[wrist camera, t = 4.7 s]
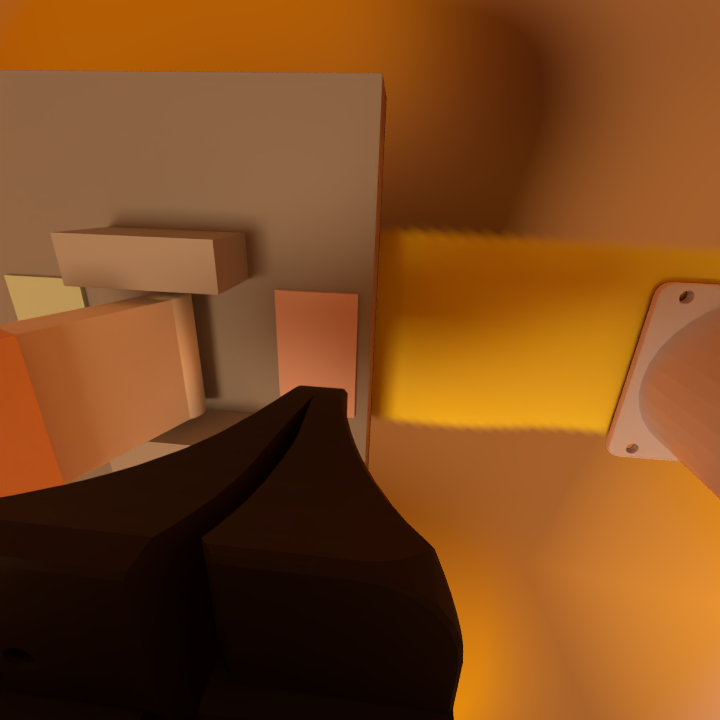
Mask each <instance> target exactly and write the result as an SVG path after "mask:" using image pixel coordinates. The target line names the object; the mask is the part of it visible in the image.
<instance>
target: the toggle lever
mask: <svg viewBox="0 0 720 720" xmlns="http://www.w3.org/2000/svg"><path fill="white" fill-rule="evenodd" d="M206 409H207V407H206V400H205V392H204V385H203V378H202V370H201V363H200V356H199V348H198V341H197V333H196V326H195V319H194V311H193V304H192V297H191V293H177V292H157V293H153V294H150V295H145V296H140V297H135V298H130V299H125V300H120V301H115V302H110V303H105V304H100V305H95V306H90V307H85V308H80V309H75V310H70V311H65V312H60V313H55V314H50V315H45V316H40V317H35V318H30V319H25V320H20V321H15V322H10V323H5V324H0V497H5V496H11V495H16V494H21V493H26V492H31V491H36V490H40V489H45V488H50V487H55V486H60V485H65V484H68V483H70V482H72V481H73V480H75V479H77V478H79V477H81V476H83V475H85V474H87V473H89V472H91V471H93V470H94V469H96V468H98V467H100V466H102V465H104V464H106V463H108V462H110V461H112V460H113V459H115V458H117V457H119V456H121V455H123V454H125V453H127V452H129V451H131V450H133V449H134V448H136V447H138V446H140V445H142V444H144V443H146V442H148V441H150V440H152V439H153V438H155V437H157V436H159V435H161V434H163V433H165V432H167V431H169V430H171V429H172V428H174V427H176V426H178V425H180V424H182V423H184V422H186V421H188V420H190V419H193V418H196V417H198V416H200V415H202V414H203V413H204V412H205V411H206Z"/></svg>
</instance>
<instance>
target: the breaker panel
mask: <svg viewBox="0 0 720 720" xmlns="http://www.w3.org/2000/svg"><path fill="white" fill-rule="evenodd" d="M385 116H386V92H385V86H384V80H383V74H382V73H289V72H286V73H284V72H283V73H282V72H280V73H279V72H176V71H63V70H62V71H61V70H55V71H54V70H0V324H5V323H10V322H15V321H20V320H25V319H30V318H35V317H40V316H45V315H50V314H55V313H60V312H65V311H70V310H75V309H80V308H85V307H90V306H95V305H100V304H105V303H110V302H115V301H120V300H125V299H130V298H135V297H140V296H145V295H150V294H153V293H157V292H177V293H191V297H192V304H193V311H194V319H195V326H196V333H197V341H198V348H199V356H200V363H201V370H202V378H203V385H204V392H205V400H206V407H207V409H206V411H205V412H204V413H203V414H202V415H200V416H198V417H196V418H193V419H190V420H188V421H186V422H184V423H182V424H180V425H178V426H176V427H174V428H172V429H171V430H169V431H167V432H165V433H163V434H161V435H159V436H157V437H155V438H153V439H152V440H150V441H148V442H146V443H144V444H142V445H140V446H138V447H136V448H134V449H133V450H131V451H129V452H127V453H125V454H123V455H121V456H119V457H117V458H115V459H113V460H112V461H110V462H108V463H106V464H104V465H102V466H100V467H98V468H96V469H94V470H93V471H91V472H89V473H87V474H85V475H83V476H81V477H79V478H77V479H75V480H73V481H72V482H70V483H73V482H78V481H82V480H86V479H90V478H94V477H97V476H101V475H105V474H109V473H112V472H116V471H119V470H123V469H126V468H129V467H133V466H136V465H139V464H142V463H145V462H148V461H151V460H153V459H156V458H159V457H162V456H165V455H167V454H170V453H173V452H176V451H179V450H181V449H184V448H186V447H189V446H191V445H193V444H196V443H198V442H200V441H202V440H205V439H207V438H209V437H211V436H213V435H215V434H218V433H220V432H221V431H223V430H225V429H227V428H229V427H231V426H233V425H234V424H236V423H238V422H240V421H242V420H243V419H245V418H247V417H249V416H251V415H252V414H254V413H256V412H257V411H259V410H261V409H262V408H264V407H265V406H267V405H268V404H270V403H272V402H273V401H275V400H276V399H278V398H279V397H281V396H283V395H284V394H286V393H287V392H289V391H290V390H292V389H294V388H295V387H297V386H299V385H302V386H315V387H328V388H341V389H345V391H346V392H347V393H348V402H347V418H348V422H349V426H350V430H351V433H352V436H353V438H354V441H355V444H356V446H357V449H358V451H359V453H360V455H361V457H362V459H363V461H364V463H365V465H366V467H367V469H368V461H369V441H370V422H371V401H372V381H373V361H374V341H375V320H376V300H377V280H378V260H379V239H380V219H381V218H380V217H381V198H382V179H383V178H382V177H383V158H384V138H385V118H386V117H385ZM68 484H69V483H68Z"/></svg>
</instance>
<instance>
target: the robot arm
mask: <svg viewBox="0 0 720 720" xmlns="http://www.w3.org/2000/svg"><path fill="white" fill-rule="evenodd" d="M685 291H687V292H688V293H687V297H686V298H685V299H684V300H682V301H679V297H680V295H681V294H682V293H683V292H685ZM347 402H348V393H347V392H346V391H345V389H341V388H328V387H315V386H302V385H299V386H297V387H295V388H294V389H292V390H290V391H289V392H287V393H286V394H284V395H283V396H281V397H279V398H278V399H276V400H275V401H273V402H272V403H270V404H268V405H267V406H265V407H264V408H262V409H261V410H259V411H257V412H256V413H254V414H252V415H251V416H249V417H247V418H245V419H243V420H242V421H240V422H238V423H236V424H234V425H233V426H231V427H229V428H227V429H225V430H223V431H221V432H220V433H218V434H215V435H213V436H211V437H209V438H207V439H205V440H202V441H200V442H198V443H196V444H193V445H191V446H189V447H186V448H184V449H181V450H179V451H176V452H173V453H170V454H167V455H165V456H162V457H159V458H156V459H153V460H151V461H148V462H145V463H142V464H139V465H136V466H133V467H129V468H126V469H123V470H119V471H116V472H112V473H109V474H105V475H101V476H97V477H94V478H90V479H86V480H82V481H78V482H73V483H69V484H65V485H60V486H55V487H50V488H45V489H40V490H36V491H31V492H26V493H21V494H16V495H11V496H5V497H0V720H454V717H453V706H454V701H455V697H456V692H457V687H458V682H459V678H460V673H461V668H462V664H463V641H462V634H461V629H460V625H459V621H458V616H457V612H456V609H455V605H454V602H453V598H452V595H451V592H450V589H449V586H448V583H447V580H446V577H445V575H444V572H443V569H442V567H441V564H440V562H439V559H438V556H437V554H436V552H435V549H434V548H433V547H432V546H431V545H430V544H429V543H428V542H427V541H426V540H425V539H424V538H423V537H422V536H421V535H419V534H418V532H416V531H415V530H414V529H413V528H412V527H411V526H410V525H409V524H408V523H407V522H406V521H405V520H404V518H403V517H402V516H401V515H400V514H399V513H398V512H397V510H396V509H395V508H394V507H393V506H392V504H391V503H390V502H389V500H388V499H387V497H386V496H385V495H384V493H383V492H382V491H381V489H380V488H379V486H378V485H377V484H376V482H375V481H374V479H373V477H372V476H371V474H370V472H369V471H368V469H367V467H366V465H365V463H364V461H363V459H362V457H361V455H360V453H359V451H358V449H357V446H356V444H355V441H354V438H353V436H352V433H351V430H350V426H349V422H348V418H347ZM630 444H634V445H633V446H632V447H631V448H626V447H627V446H628V445H630ZM606 448H607V450H608V451H609V452H610V453H611V454H612V455H615V456H621V457H633V458H645V459H656V460H668V461H680V462H681V463H683V464H684V465H685V466H686V467H687V468H688V469H689V470H690V471H691V472H692V473H693V474H694V475H695V476H696V477H697V478H699V480H701V481H702V482H703V483H704V484H705V485H706V486H707V487H708V488H709V489H710V490H711V491H712V492H713V493H714V494H715V495H716V496H717V497H719V498H720V284H703V283H683V282H667V283H664V284H662V285H661V286H660V287H658V288H657V290H656V291H655V293H654V296H653V299H652V302H651V305H650V308H649V311H648V314H647V317H646V320H645V323H644V326H643V330H642V333H641V336H640V339H639V342H638V345H637V348H636V351H635V354H634V357H633V360H632V363H631V366H630V369H629V372H628V375H627V379H626V382H625V385H624V388H623V391H622V394H621V397H620V400H619V403H618V406H617V409H616V412H615V415H614V418H613V421H612V425H611V428H610V431H609V434H608V437H607V440H606Z"/></svg>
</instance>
